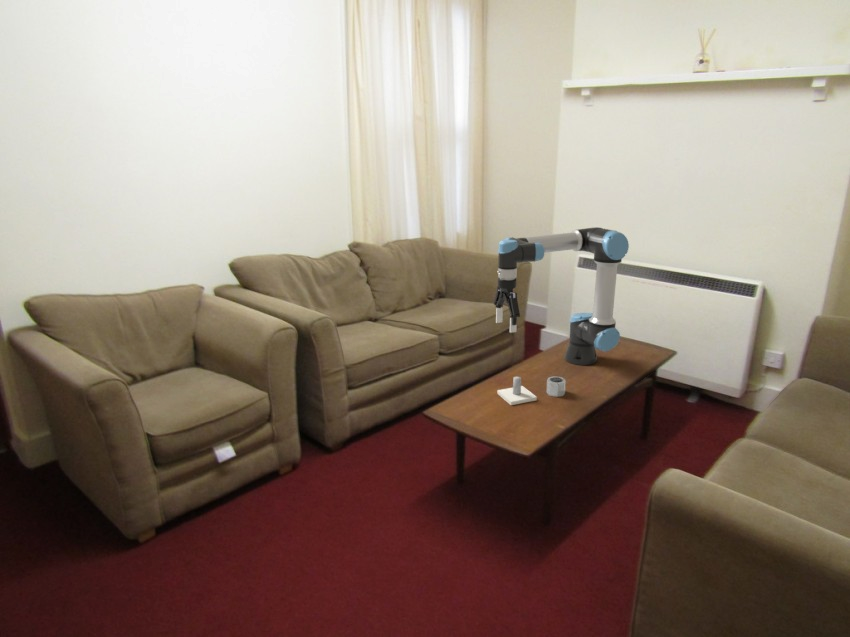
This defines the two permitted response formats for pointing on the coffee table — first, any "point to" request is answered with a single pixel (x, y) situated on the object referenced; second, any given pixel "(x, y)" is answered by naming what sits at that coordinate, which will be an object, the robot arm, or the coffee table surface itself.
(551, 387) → the tube
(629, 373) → the coffee table surface
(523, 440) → the coffee table surface
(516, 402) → the post
